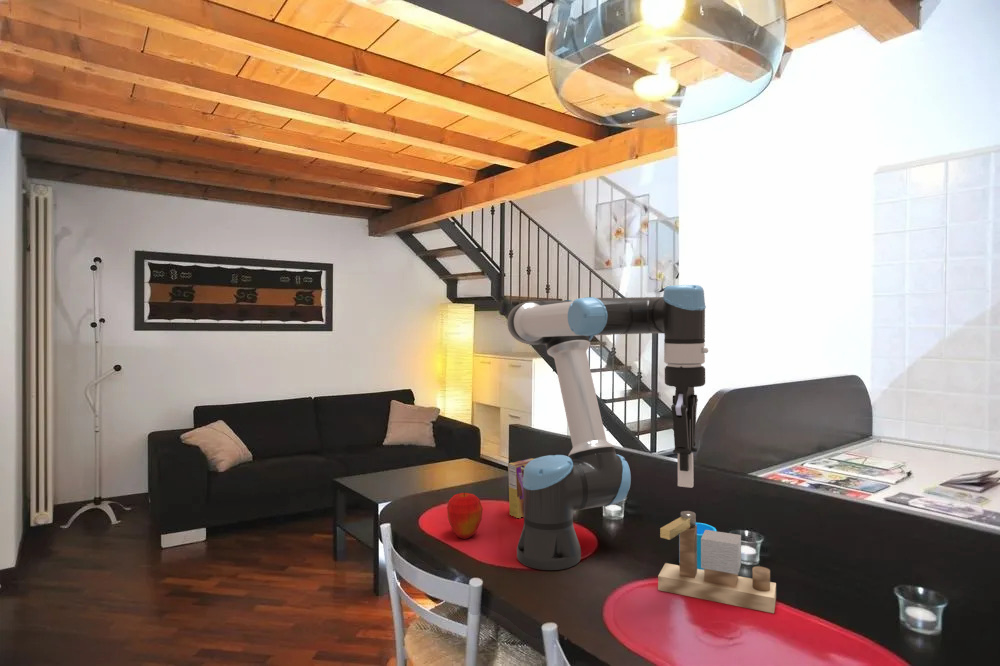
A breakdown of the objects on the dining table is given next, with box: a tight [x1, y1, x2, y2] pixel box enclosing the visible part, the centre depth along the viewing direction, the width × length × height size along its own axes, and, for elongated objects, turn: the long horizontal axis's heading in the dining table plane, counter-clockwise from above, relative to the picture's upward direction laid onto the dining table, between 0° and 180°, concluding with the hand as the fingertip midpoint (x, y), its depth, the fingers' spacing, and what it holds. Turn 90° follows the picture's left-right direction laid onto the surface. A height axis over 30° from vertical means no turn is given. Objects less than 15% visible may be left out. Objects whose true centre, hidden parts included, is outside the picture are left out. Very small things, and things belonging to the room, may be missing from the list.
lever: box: [659, 510, 697, 541], centre depth 121 cm, size 12×3×2 cm, turn 137°
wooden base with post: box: [657, 525, 777, 614], centre depth 122 cm, size 22×7×13 cm, turn 62°
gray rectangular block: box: [701, 530, 742, 575], centre depth 121 cm, size 7×6×6 cm
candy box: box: [507, 458, 534, 519], centre depth 171 cm, size 9×4×15 cm, turn 127°
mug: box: [678, 522, 717, 570], centre depth 138 cm, size 12×8×8 cm
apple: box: [446, 491, 484, 540], centre depth 155 cm, size 9×9×12 cm
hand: (685, 485), depth 115 cm, fingers closed
